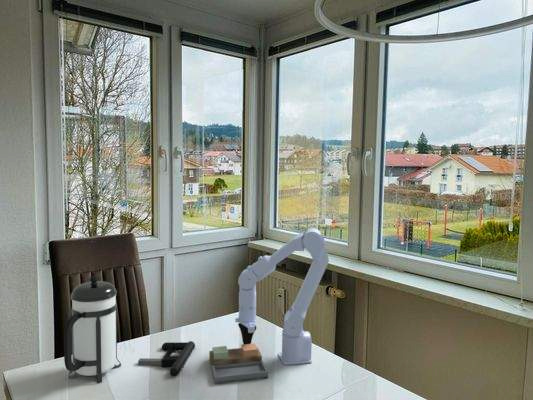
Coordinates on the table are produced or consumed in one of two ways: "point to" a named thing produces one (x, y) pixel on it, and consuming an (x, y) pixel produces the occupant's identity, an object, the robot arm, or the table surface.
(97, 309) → the coffee press
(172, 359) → the door handle
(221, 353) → the sage tile
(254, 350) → the terracotta block
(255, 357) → the walnut ledge
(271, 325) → the table surface
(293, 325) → the robot arm
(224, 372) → the charcoal tray
